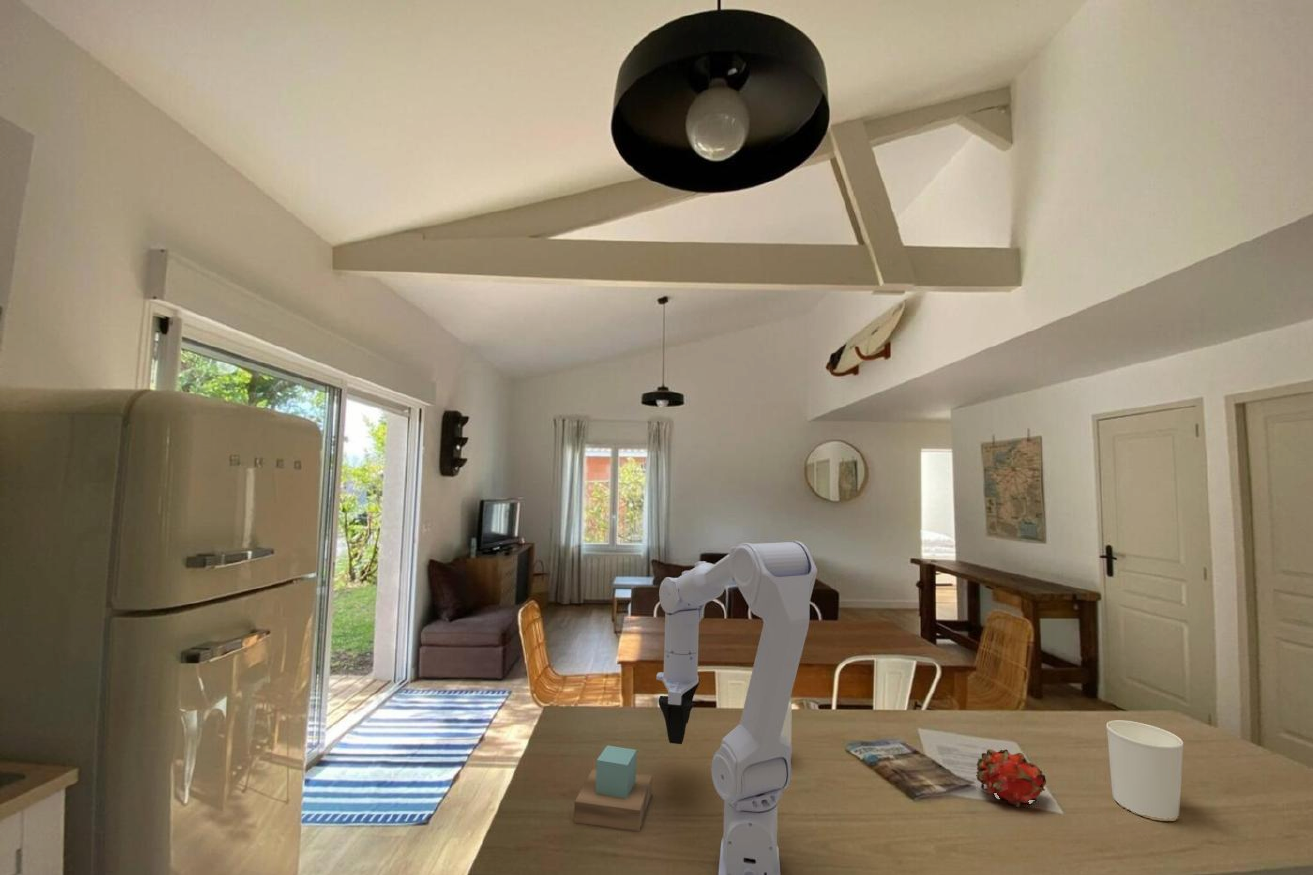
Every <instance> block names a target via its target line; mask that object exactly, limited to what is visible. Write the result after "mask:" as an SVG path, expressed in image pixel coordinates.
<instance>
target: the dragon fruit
mask: <svg viewBox="0 0 1313 875" xmlns="http://www.w3.org/2000/svg"><path fill="white" fill-rule="evenodd" d="M976 766H977V771H976V776H975V777H976V779H977V781H978V782H979V783H981V785H980V787H981V789H982V791H983V792H985V793H989V794H993V793H997V795H998V796H999V798H1000V800H1001V798H1002V799H1005V800H1006V801H1008V803H1009V802H1010V803H1011V805H1014V807H1016V808H1017V807H1020V806H1021V805H1020V804H1021V803H1025V804H1027V803H1029V802H1028V801H1029V800H1036V801H1037V797H1038V796H1040V794H1041V793H1043V792H1045V786H1046V784H1047V780H1046V776H1045V774H1043V771H1041V770H1042V769H1041V768H1039V767H1038V766H1037V764H1035V763H1032V762H1029V761H1028V760H1027V758H1026V757H1025V755H1024V754H1023V752H1022V753H1021V752H1018V753H1017V752H1016V753H1015V754H1011V753H1010V752H1009V750H1008V749H1000V750H999V751H995V750H994V749H990V748H989V749H987V750H986V752H982V753H981V758H978V760H977V761H976ZM985 785H986V787H987V788H985ZM1010 803H1009V804H1010Z"/></svg>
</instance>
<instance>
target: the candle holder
mask: <svg viewBox="0 0 1313 875" xmlns="http://www.w3.org/2000/svg"><path fill="white" fill-rule="evenodd" d="M1105 726H1106V728H1105V729H1106V734H1107V735H1106V736H1107V744H1108V758H1109V759H1108V761H1109V769H1110V770H1109V772H1110V780H1111V782H1110V783H1111V791H1112V794H1111V795H1112V798H1114V799H1115V800H1116V801H1117V802H1118V803H1119V804H1121V805H1122V806H1124V807H1126V808H1127V809H1130V810H1131V811H1133V812H1136V813H1138V814H1141V815H1147V816H1151V817H1157V818H1163V819H1167V818H1169V819H1172V818H1175V817H1177V816H1179V817H1180V809H1181V808H1180V806H1181V791H1182V789H1181V788H1182V768H1183V751H1184V750H1183V749H1184V745H1185V744H1184V741H1183V740H1182V739H1181V738H1180V737H1179V736H1177V735H1176V734H1174V733H1173V732H1170V731H1168V730H1166V729H1162V728H1160V727H1158V726H1155V725H1151V724H1146V723H1142V722H1137V721H1132V720H1122V719H1121V720H1120V719H1119V720H1118V719H1116V720H1110V721H1107V722H1106V724H1105ZM1114 799H1113V800H1114Z"/></svg>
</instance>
